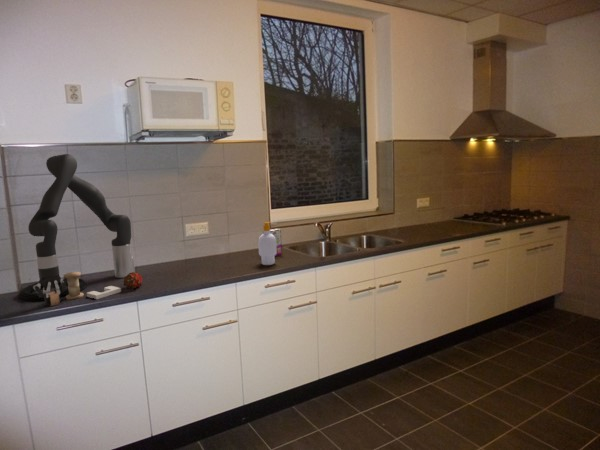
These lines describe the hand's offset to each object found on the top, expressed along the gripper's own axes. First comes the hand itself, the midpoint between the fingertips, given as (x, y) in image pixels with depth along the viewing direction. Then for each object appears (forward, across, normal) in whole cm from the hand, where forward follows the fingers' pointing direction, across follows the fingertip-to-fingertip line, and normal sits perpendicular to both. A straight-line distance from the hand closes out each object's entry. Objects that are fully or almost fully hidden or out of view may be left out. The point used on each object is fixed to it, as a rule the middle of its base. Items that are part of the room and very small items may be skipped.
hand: (53, 303), depth 176 cm
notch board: (0, -19, +8) cm, 20 cm away
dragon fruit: (0, -32, +11) cm, 34 cm away
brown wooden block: (0, 0, 0) cm, 0 cm away
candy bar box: (0, -116, +33) cm, 121 cm away
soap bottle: (0, -98, +43) cm, 107 cm away
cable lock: (+1, -10, -20) cm, 22 cm away
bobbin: (0, -10, -1) cm, 10 cm away
